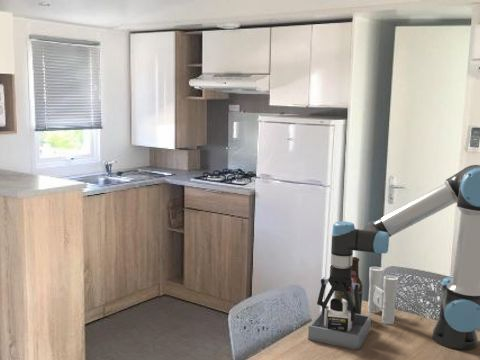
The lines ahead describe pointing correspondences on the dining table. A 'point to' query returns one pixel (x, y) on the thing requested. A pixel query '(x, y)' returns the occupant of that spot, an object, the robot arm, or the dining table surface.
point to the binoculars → (382, 294)
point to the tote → (337, 337)
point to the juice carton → (341, 294)
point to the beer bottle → (356, 268)
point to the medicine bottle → (338, 315)
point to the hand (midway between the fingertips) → (337, 326)
